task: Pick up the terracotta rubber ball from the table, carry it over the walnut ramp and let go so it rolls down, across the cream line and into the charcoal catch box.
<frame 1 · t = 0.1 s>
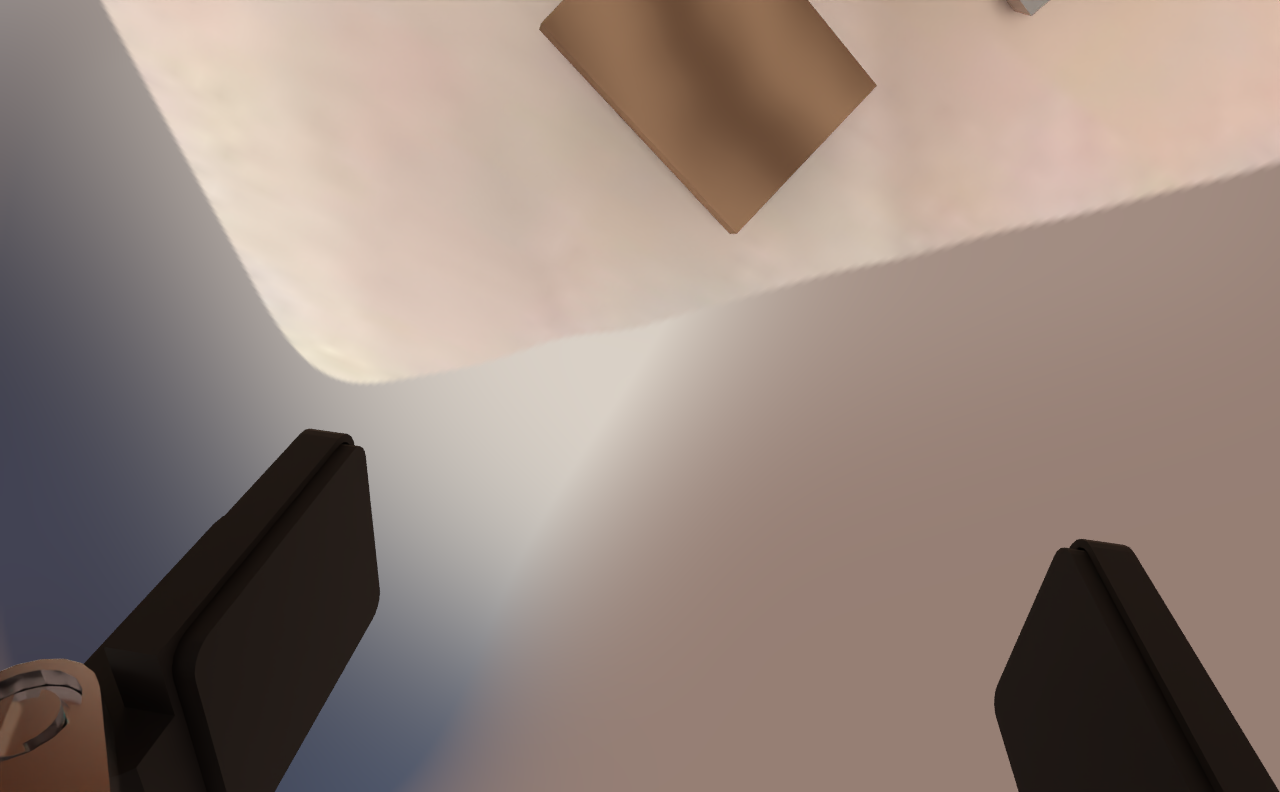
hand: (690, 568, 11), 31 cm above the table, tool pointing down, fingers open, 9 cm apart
ramp: (719, 50, 37), on the table
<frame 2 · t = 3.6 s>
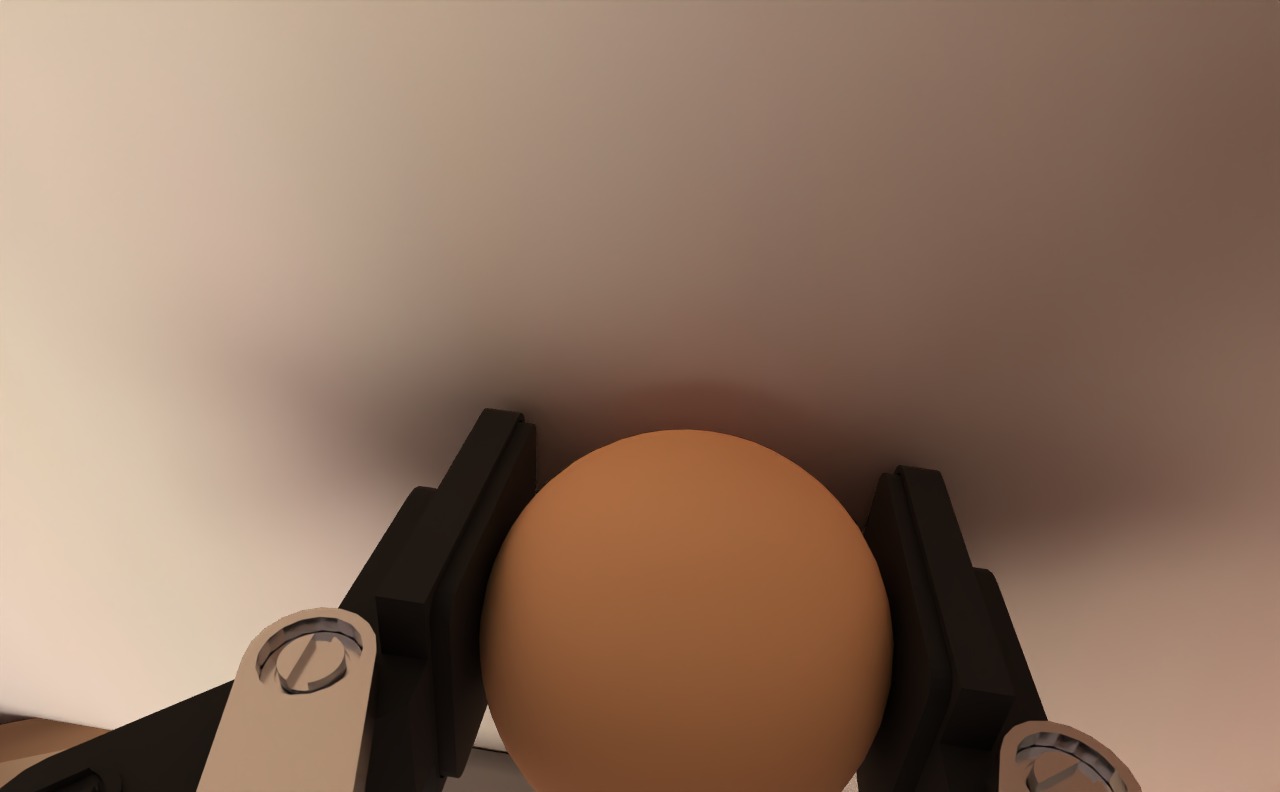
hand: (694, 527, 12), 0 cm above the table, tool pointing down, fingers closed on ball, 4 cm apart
ball: (696, 508, 12), on the table, touching gripper
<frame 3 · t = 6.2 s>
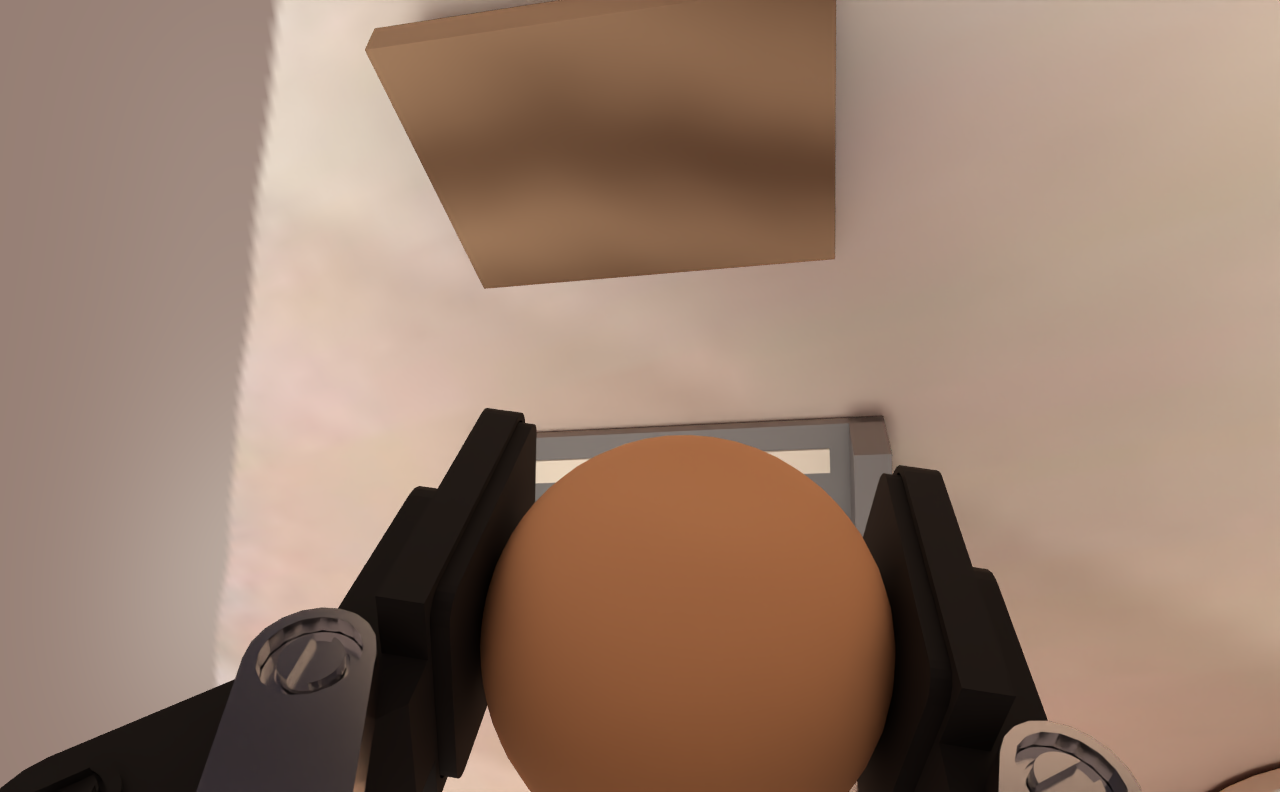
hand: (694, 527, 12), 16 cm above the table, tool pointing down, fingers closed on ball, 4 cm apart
ball: (698, 512, 12), point 16 cm above the table, touching gripper
catch box: (689, 544, 33), on the table
ramp: (634, 151, 25), on the table
when the fingers open (4 cm above the table, at t = 8.7 s): ball drops 1 cm and tips over, resting on catch box.
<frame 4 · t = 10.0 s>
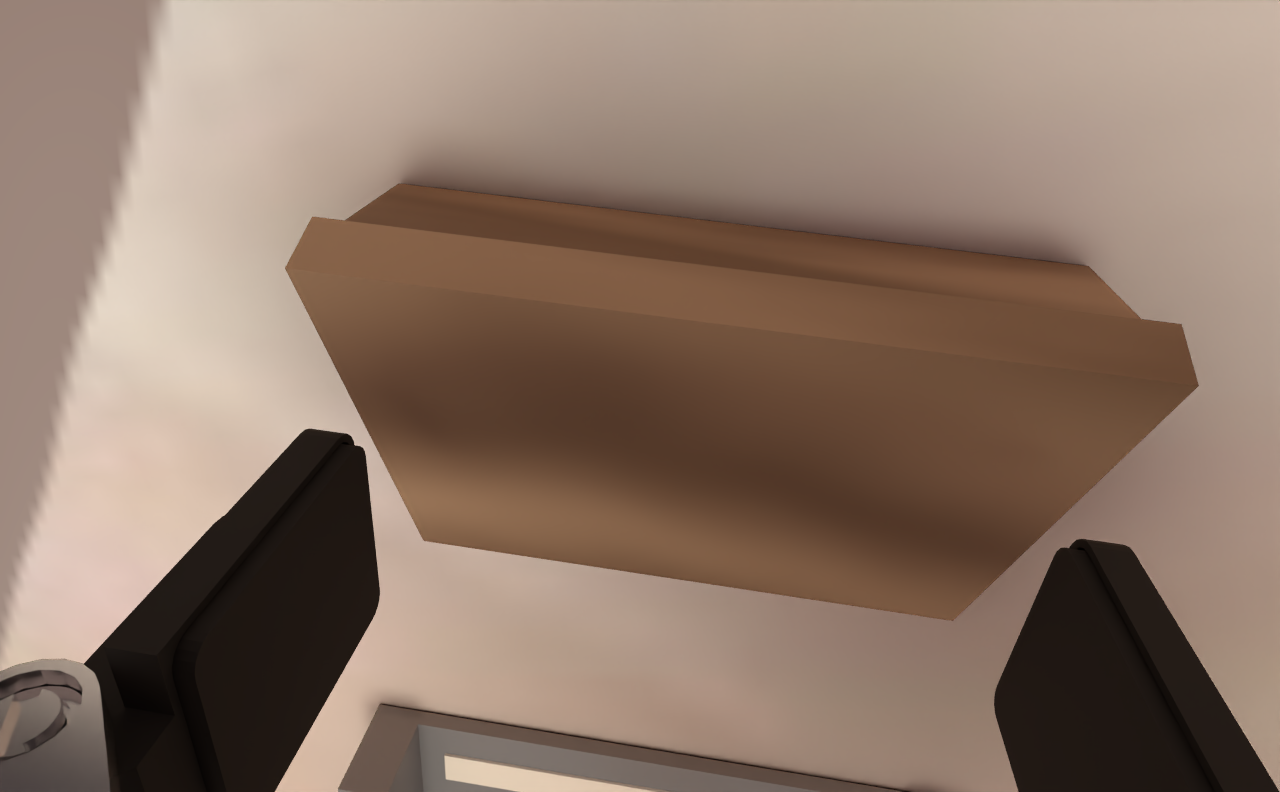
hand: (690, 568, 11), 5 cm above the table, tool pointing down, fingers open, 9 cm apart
ramp: (704, 427, 16), on the table
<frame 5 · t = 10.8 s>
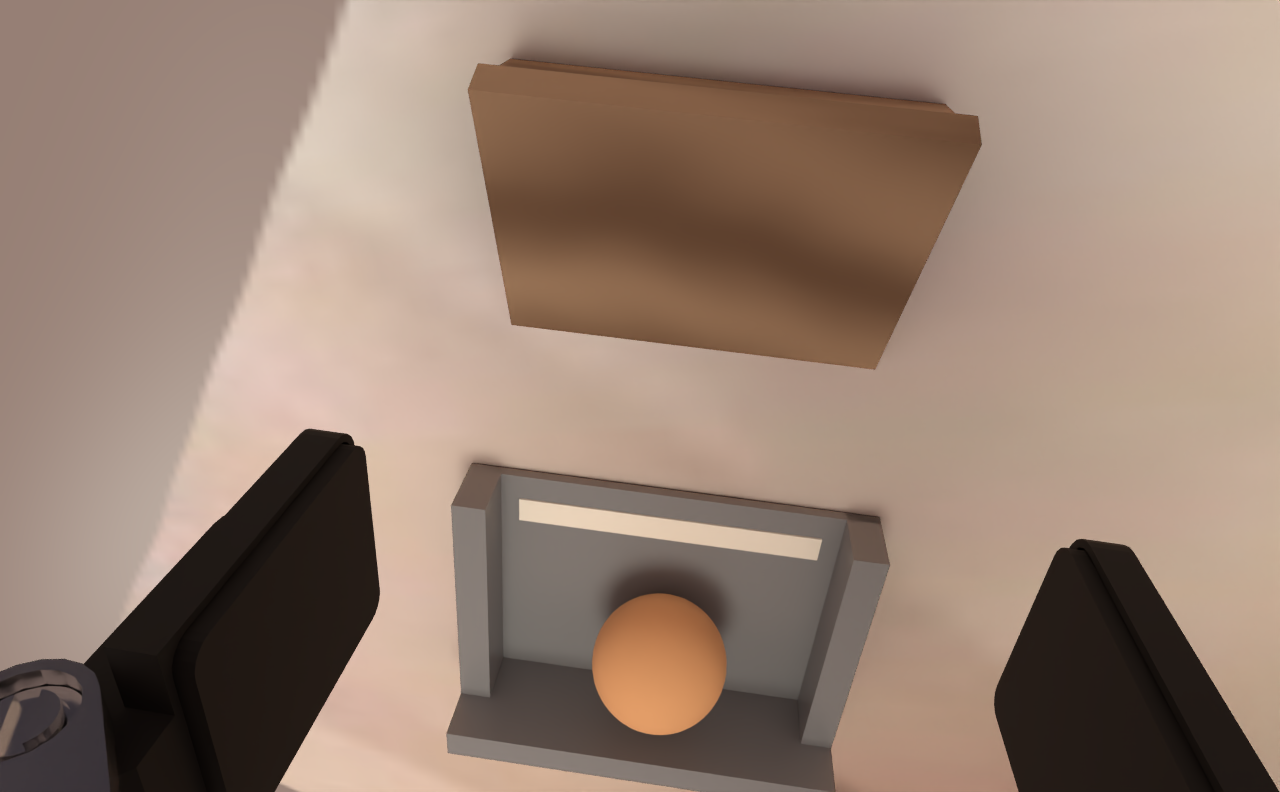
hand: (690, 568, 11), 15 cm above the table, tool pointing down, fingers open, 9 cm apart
ball: (663, 599, 30), point 2 cm above the table, tilted 69°, touching catch box
catch box: (659, 598, 33), on the table
ramp: (706, 227, 24), on the table
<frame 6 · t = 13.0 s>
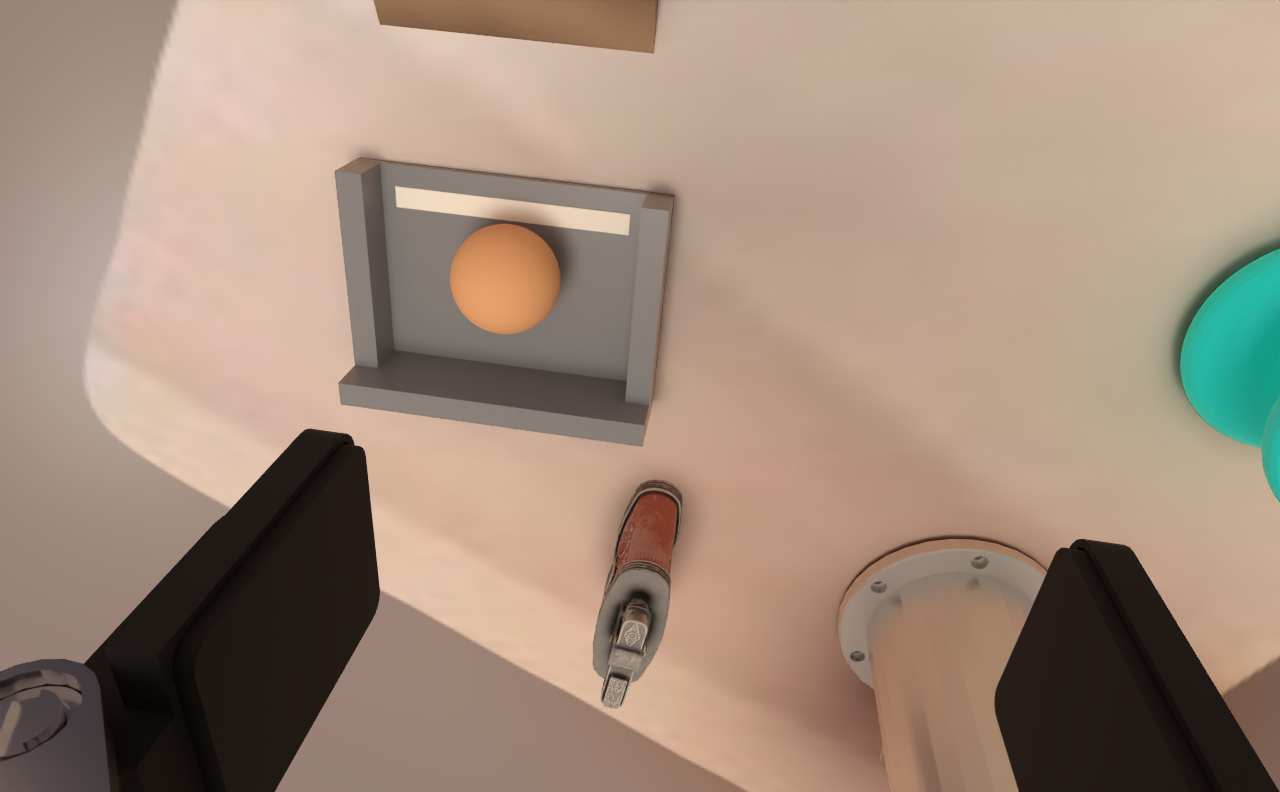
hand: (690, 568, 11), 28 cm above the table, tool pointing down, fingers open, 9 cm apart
ball: (514, 240, 39), point 1 cm above the table, tilted 27°, touching catch box
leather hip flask: (647, 532, 47), on the table
catch box: (513, 286, 40), on the table
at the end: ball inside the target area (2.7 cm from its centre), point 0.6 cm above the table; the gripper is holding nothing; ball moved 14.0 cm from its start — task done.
